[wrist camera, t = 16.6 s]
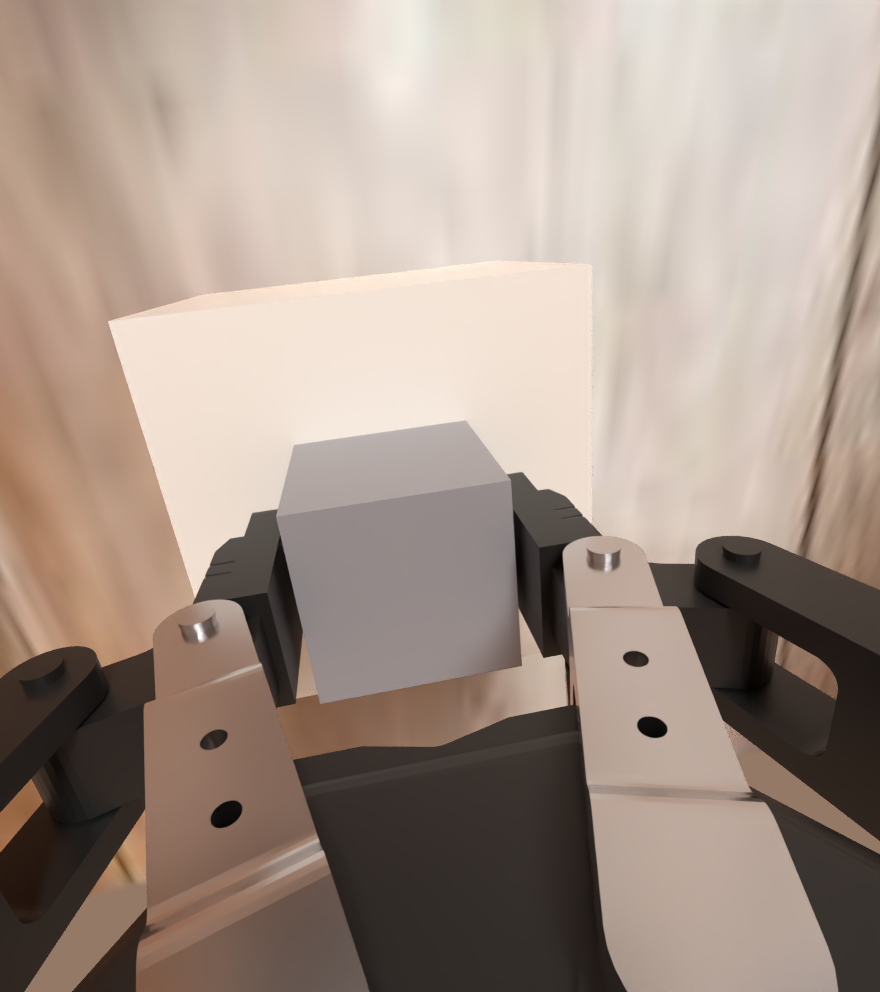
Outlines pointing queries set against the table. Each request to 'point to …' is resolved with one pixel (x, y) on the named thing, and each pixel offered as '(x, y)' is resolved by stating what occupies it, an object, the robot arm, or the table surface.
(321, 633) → the cream square block
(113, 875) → the table surface
